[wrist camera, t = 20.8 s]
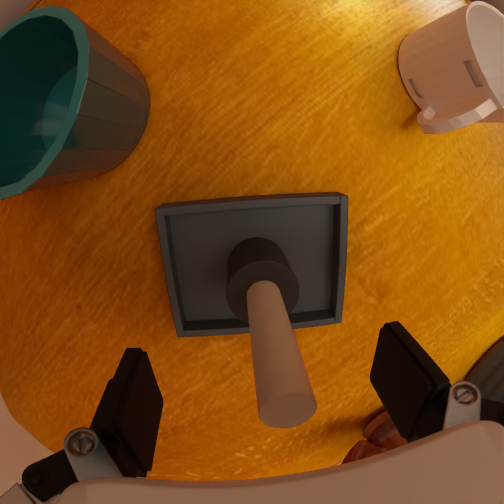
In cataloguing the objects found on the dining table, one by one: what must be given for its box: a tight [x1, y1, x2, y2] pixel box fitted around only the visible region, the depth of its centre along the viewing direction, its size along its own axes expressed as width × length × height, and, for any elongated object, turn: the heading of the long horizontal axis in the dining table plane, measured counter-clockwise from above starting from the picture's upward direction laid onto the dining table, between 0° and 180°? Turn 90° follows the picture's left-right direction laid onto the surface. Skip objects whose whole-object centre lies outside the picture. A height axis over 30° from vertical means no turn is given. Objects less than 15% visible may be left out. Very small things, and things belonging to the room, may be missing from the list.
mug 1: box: [342, 410, 419, 464], centre depth 23 cm, size 15×8×15 cm, turn 76°
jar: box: [0, 6, 150, 199], centre depth 13 cm, size 10×10×10 cm
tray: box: [155, 192, 348, 337], centre depth 21 cm, size 13×10×2 cm
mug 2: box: [398, 1, 504, 134], centre depth 14 cm, size 12×9×9 cm
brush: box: [226, 237, 317, 428], centre depth 15 cm, size 4×4×14 cm
